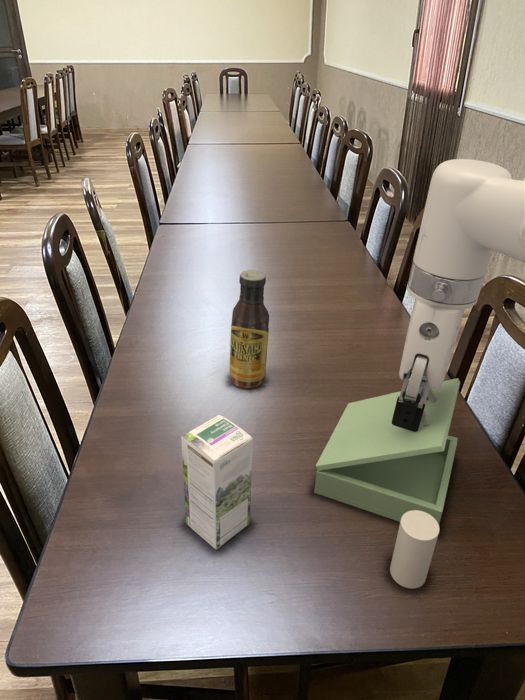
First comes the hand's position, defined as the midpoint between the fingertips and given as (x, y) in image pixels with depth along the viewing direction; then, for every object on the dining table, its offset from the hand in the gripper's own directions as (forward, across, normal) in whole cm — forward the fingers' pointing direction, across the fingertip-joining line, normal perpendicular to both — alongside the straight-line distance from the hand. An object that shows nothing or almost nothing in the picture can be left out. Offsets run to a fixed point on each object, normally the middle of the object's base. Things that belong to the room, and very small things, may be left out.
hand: (410, 410), depth 68 cm
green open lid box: (+12, 0, +1) cm, 12 cm away
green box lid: (+3, 0, +2) cm, 4 cm away
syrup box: (+13, -18, +18) cm, 28 cm away
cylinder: (+11, -14, -5) cm, 19 cm away
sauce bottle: (+13, +12, +28) cm, 33 cm away
